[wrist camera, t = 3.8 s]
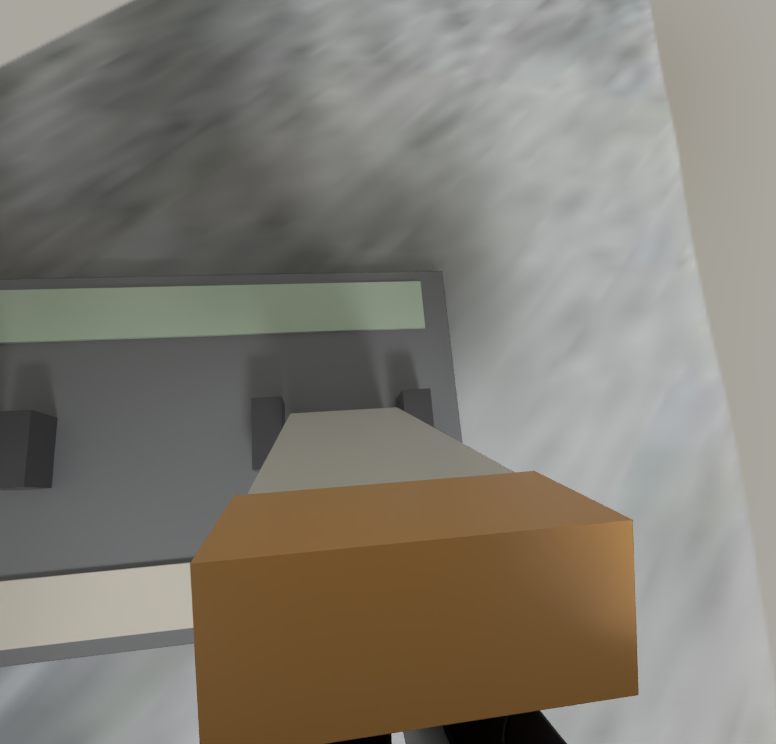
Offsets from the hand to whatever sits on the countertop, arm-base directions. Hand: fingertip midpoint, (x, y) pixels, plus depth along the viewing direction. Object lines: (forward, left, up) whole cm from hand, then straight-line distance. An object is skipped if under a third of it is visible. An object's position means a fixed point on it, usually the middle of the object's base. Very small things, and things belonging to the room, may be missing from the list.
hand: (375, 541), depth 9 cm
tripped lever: (+3, 0, -7) cm, 8 cm away
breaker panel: (+3, +7, -9) cm, 12 cm away
